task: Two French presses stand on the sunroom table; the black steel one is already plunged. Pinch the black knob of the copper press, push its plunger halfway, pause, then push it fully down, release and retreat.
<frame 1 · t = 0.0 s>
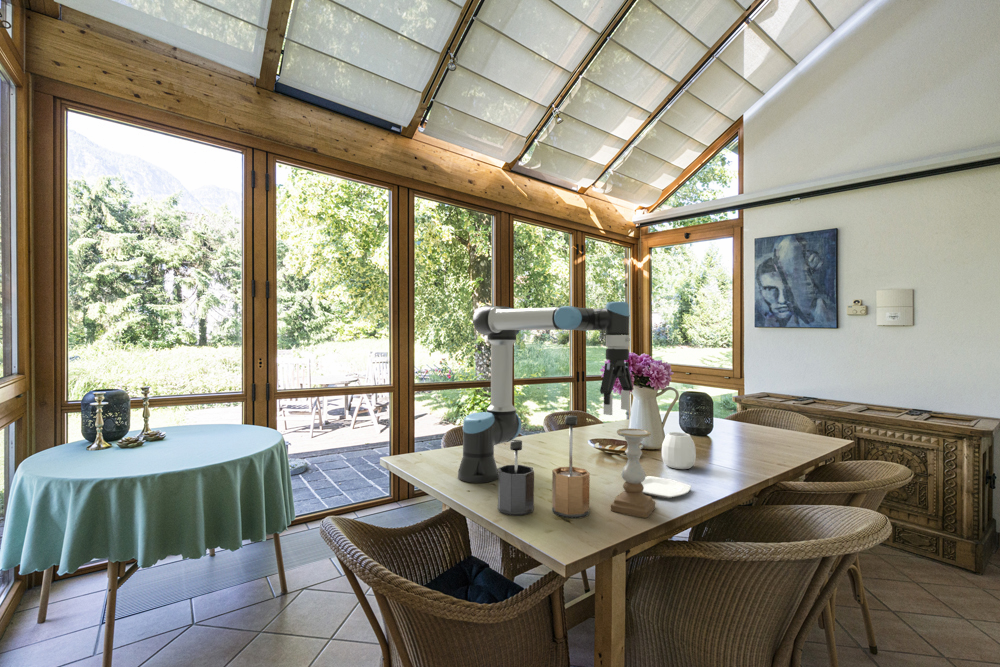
hand: (616, 412, 154), 28 cm above the table, fingers open, 13 cm apart
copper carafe: (570, 511, 140), on the table
plate: (659, 491, 161), on the table
candle holder: (633, 509, 143), on the table
steel carafe: (515, 508, 142), on the table
steel plunger: (516, 471, 142), point 11 cm above the table, slide at 8.0 cm
cup: (678, 467, 190), on the table
copper plunger: (571, 447, 140), point 19 cm above the table, slide at 0.0 cm
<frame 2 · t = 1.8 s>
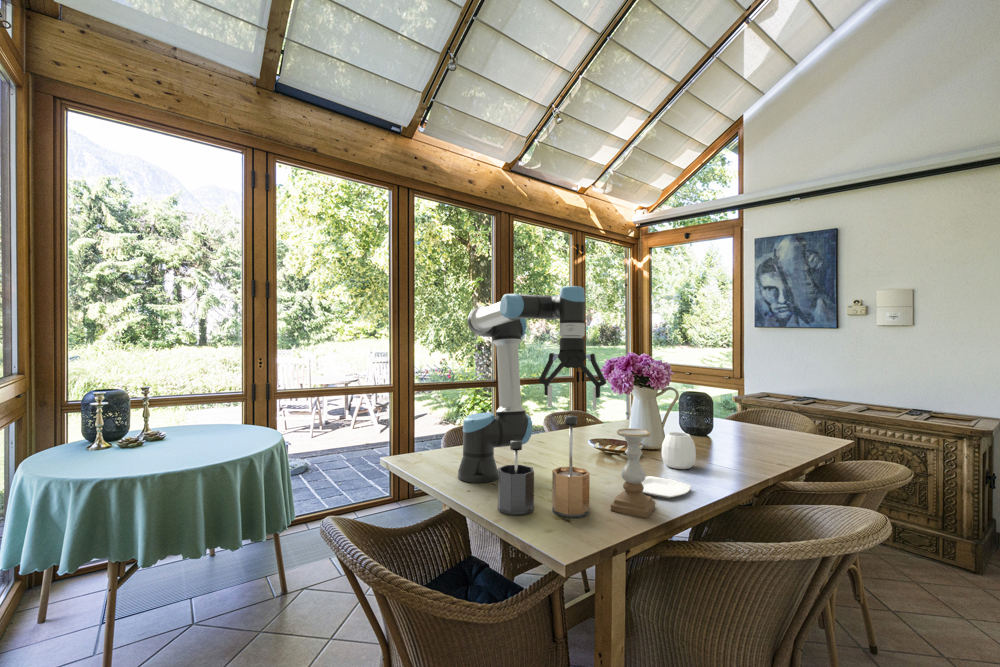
hand: (571, 407, 140), 31 cm above the table, fingers open, 13 cm apart
nothing on the table moved.
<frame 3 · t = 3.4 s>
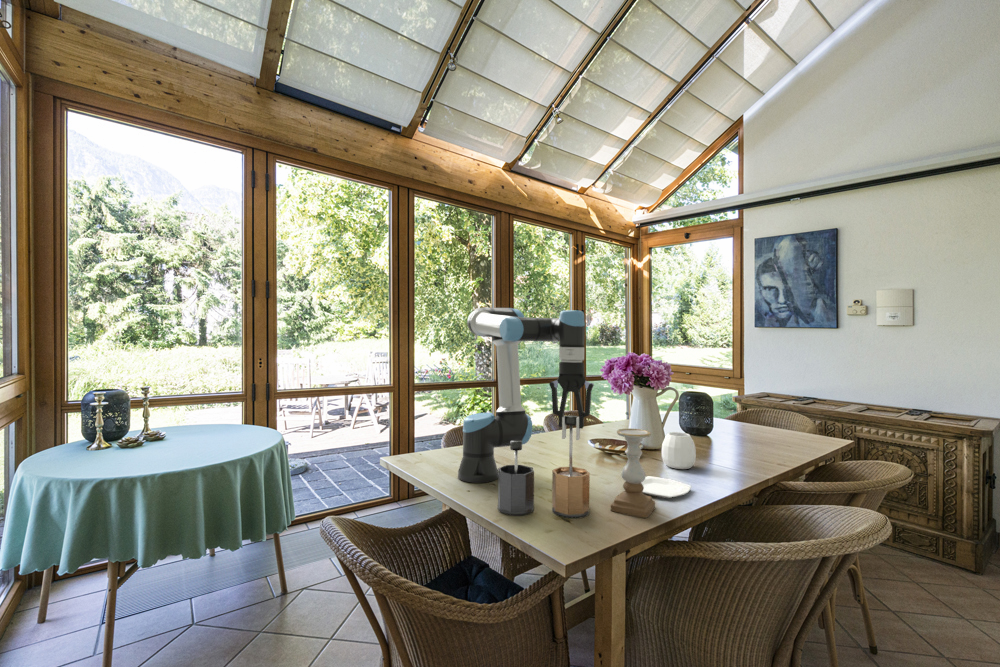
hand: (571, 438, 140), 22 cm above the table, fingers closed on copper plunger, 4 cm apart
copper plunger: (571, 447, 140), point 19 cm above the table, slide at 0.0 cm, touching gripper
everything else where it was.
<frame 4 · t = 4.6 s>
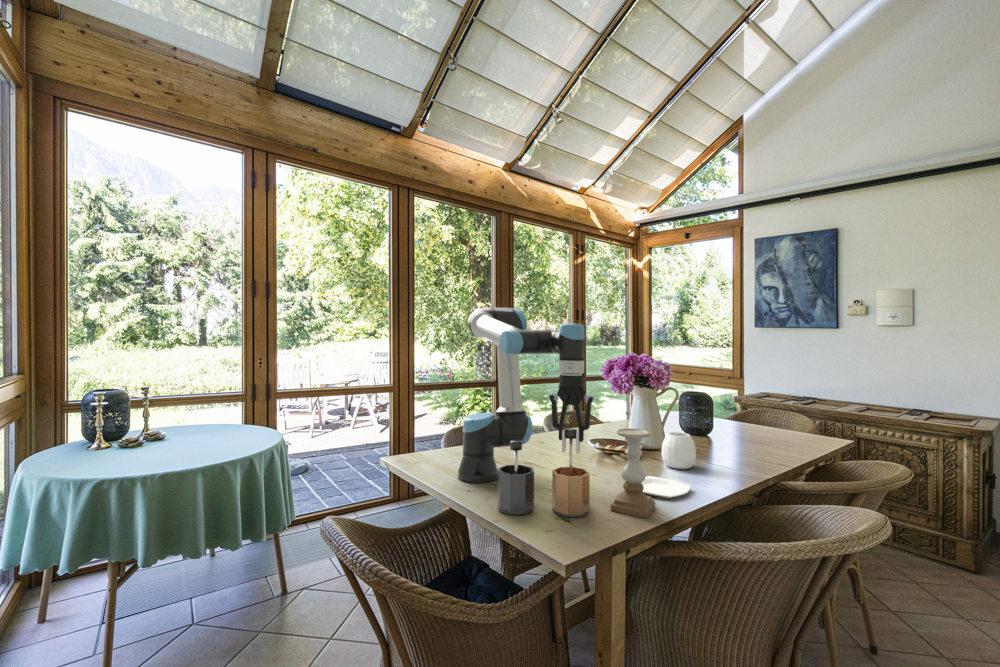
hand: (570, 451, 140), 18 cm above the table, fingers closed on copper plunger, 4 cm apart
copper plunger: (570, 460, 140), point 15 cm above the table, slide at 4.0 cm, touching gripper
everything else where it was.
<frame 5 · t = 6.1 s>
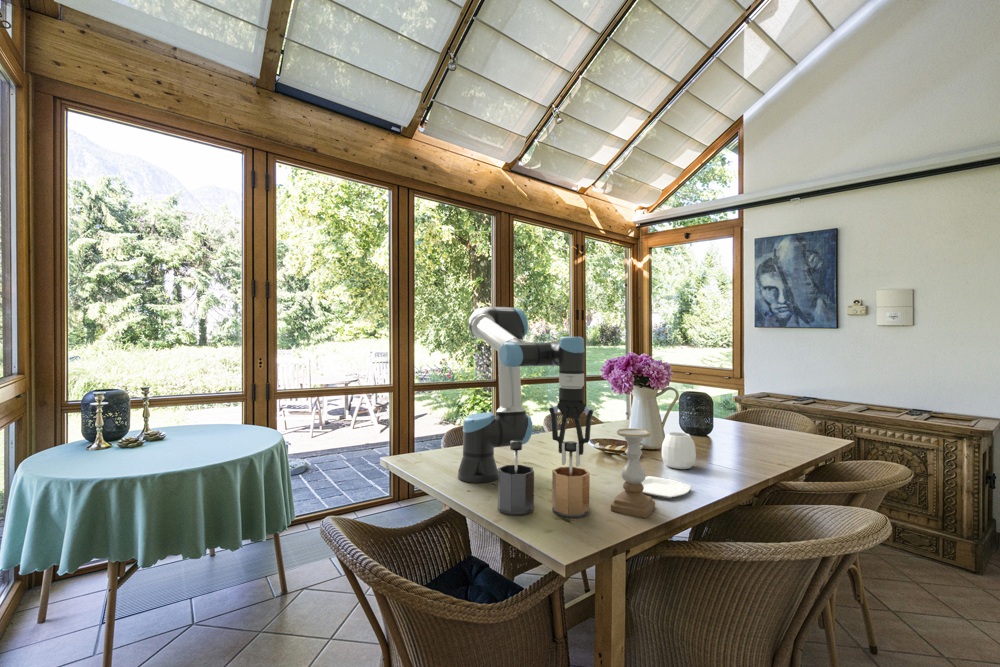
hand: (570, 464, 140), 14 cm above the table, fingers closed on copper plunger, 4 cm apart
copper plunger: (570, 473, 140), point 12 cm above the table, slide at 7.9 cm, touching gripper
everything else where it was.
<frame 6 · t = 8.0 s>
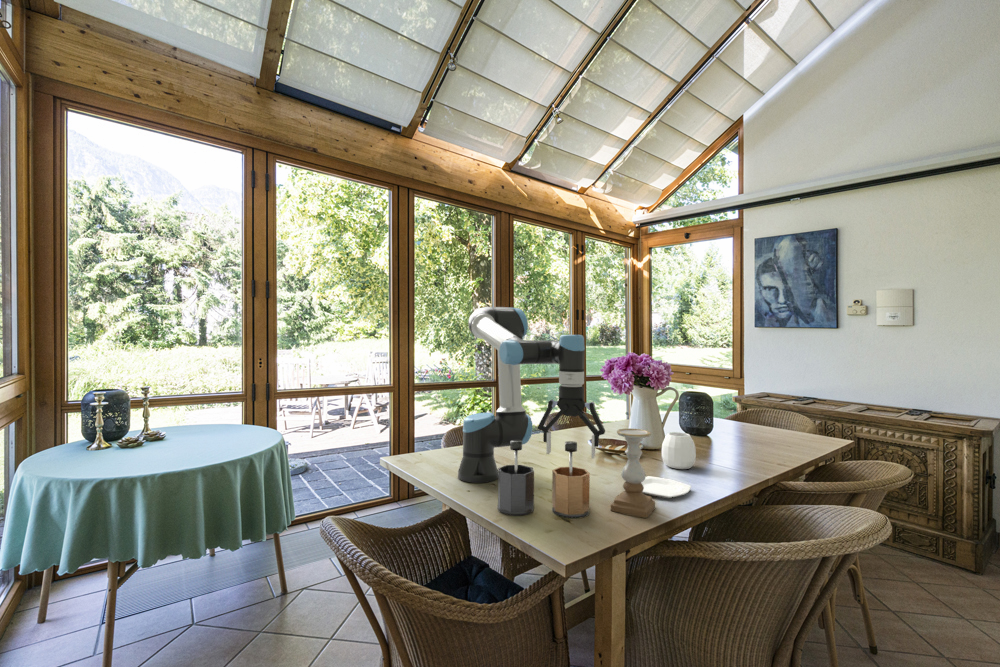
hand: (570, 455, 141), 17 cm above the table, fingers open, 13 cm apart
copper plunger: (570, 473, 140), point 11 cm above the table, slide at 7.9 cm
everything else where it was.
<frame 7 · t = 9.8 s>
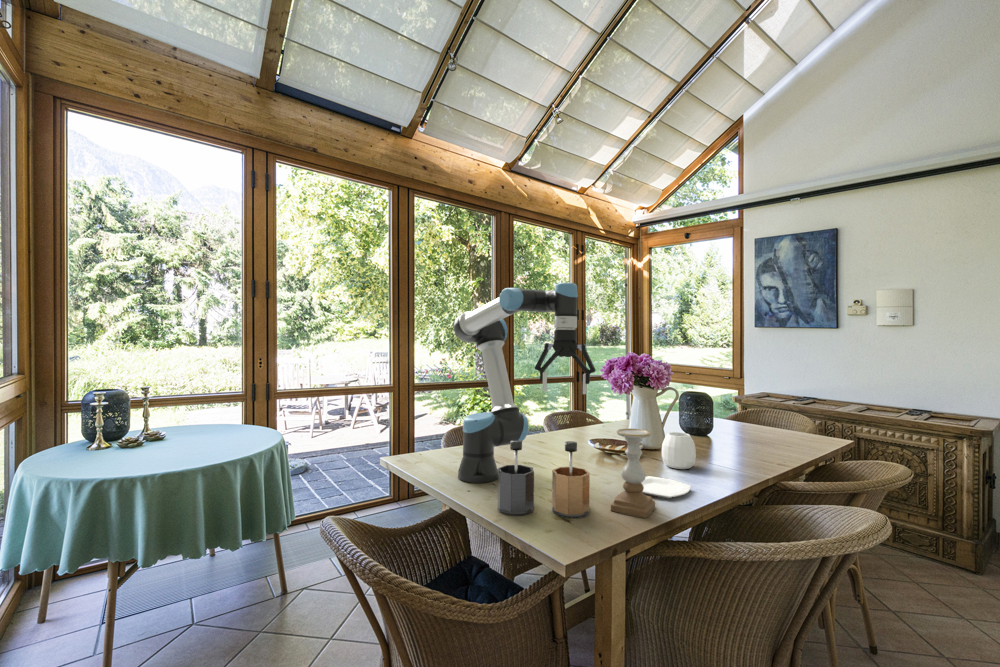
hand: (564, 392, 155), 34 cm above the table, fingers open, 13 cm apart
nothing on the table moved.
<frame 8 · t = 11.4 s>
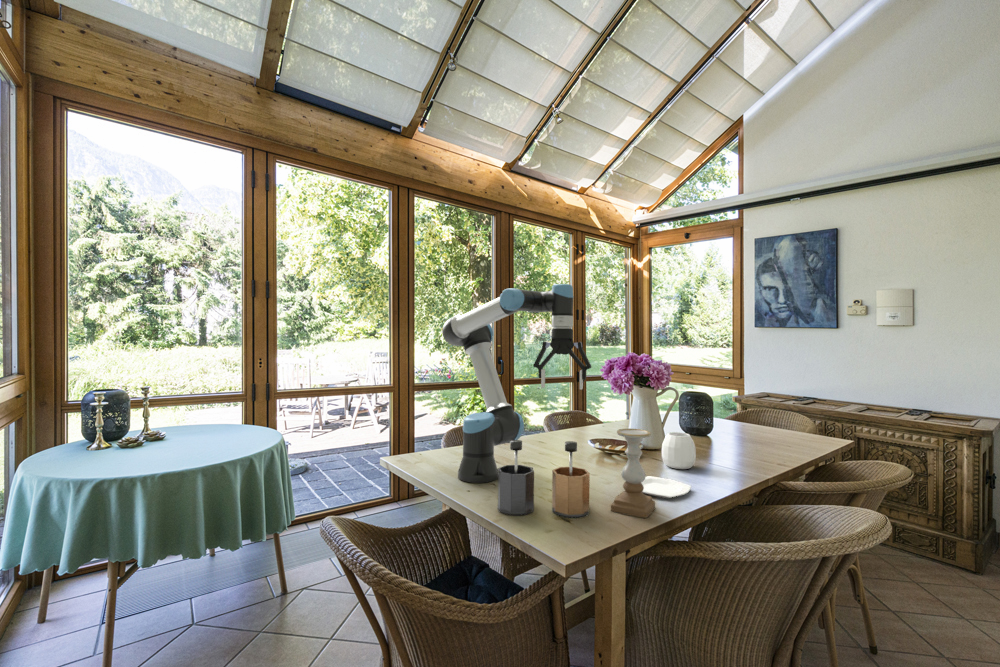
hand: (561, 388, 163), 35 cm above the table, fingers open, 13 cm apart
nothing on the table moved.
at the end: copper plunger slide at 7.9 cm; the gripper is holding nothing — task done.
